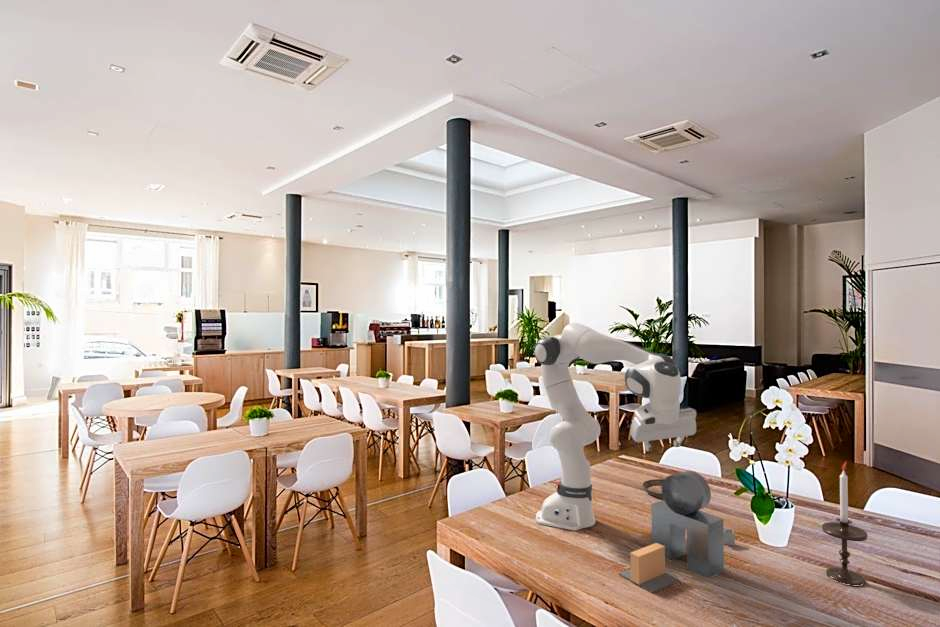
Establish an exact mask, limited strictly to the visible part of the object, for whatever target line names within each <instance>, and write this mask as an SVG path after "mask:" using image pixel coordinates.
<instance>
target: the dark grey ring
mask: <svg viewBox="0 0 940 627" xmlns="http://www.w3.org/2000/svg"><path fill="white" fill-rule="evenodd" d="M664 480H665V478H663V479H662V478H656V479H648V480H646V481H644V482H642V487H643V490H644V491H645V492H647V494H649V495H650V494H651V495H650V496H652V495H653V496H652V497H655V496H656V498H658V497H660V498H659V499H663V495H662V490H660V491H661V492H654V491H651V490H648V488H649V487H652V486H659V487H660V486H661V487H660V489H662V484H663V481H664Z"/></svg>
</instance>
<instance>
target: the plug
mask: <svg viewBox="0 0 940 627" xmlns="http://www.w3.org/2000/svg"><path fill="white" fill-rule="evenodd" d="M629 555H630V561H629V562H630V563H629V564H630V565H629V566H630V568H629V569H630V570H631V580H632V581H633V582H635V583H637V584H641V583H643V582H646V581H648V580H650V579H653V578H655V577H657V576H659V575H662V574H664V573H666V559H665V546H663V545H660V544H658V543H655V544H652V543H651V544H650V545H649V544H648V545H647V546H644V547H641V548H638V549H636V550H634V551H631V552H630V554H629ZM633 582H632V583H633ZM635 583H634V584H635ZM637 584H636V585H637Z"/></svg>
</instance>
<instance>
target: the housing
mask: <svg viewBox="0 0 940 627" xmlns="http://www.w3.org/2000/svg"><path fill="white" fill-rule="evenodd" d="M664 479H665V480H664V481H663V484H662V495H663V498H664V499H663V498H662V499H663V500H660V501H657V502H654V503H651V545H652V544H655V543H658V544H660V545H663V546H665V558H666V559H665V560H667V559H668V560H667V561H669V560H672V561H674V560H676V559H678V557H679V558H681V557H683V555H684V556H686V561H687V562H686V566H687V570H689V571H691V570H692V571H691V572H693V571H694V572H693V573H695V572H696V574H697V573H698V575H699V576H702V577H704V576H705V578H706V577H707V578H706V579H708V578H709V579H711V578H713V577H715V576H717V575H718V574H721V573H723V572H724V571H725V562H724V561H725V560H724V559H725V557H724V556H725V554H724V553H725V552H724V550H725V548H724V535H723V530H724V518H722V517H719V516H717V515H714V514H711V513H708V512H705V511H702V510H703V509H705V508H707V506H709V504H710V503H711V497H712V492H711V488H710V486H709V484H708V482H707V480H706V479H705V478H704V476H702V475H701V474H700V473H698V472H696V471H694V470H685V471H682V472H678V473H675V474H674V473H673V474H670V475H668V476H666V477H665V478H664ZM685 554H686V555H685ZM680 556H681V557H680ZM675 558H676V559H675ZM673 559H674V560H673ZM714 575H715V576H714ZM712 576H713V577H712ZM710 577H711V578H710Z"/></svg>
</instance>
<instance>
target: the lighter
mask: <svg viewBox="0 0 940 627" xmlns="http://www.w3.org/2000/svg"><path fill="white" fill-rule="evenodd" d="M723 535H724V545H726V546H733V547H735V546H736V533H735V531H734V530H733V529H732V528H730V527H723Z"/></svg>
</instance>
